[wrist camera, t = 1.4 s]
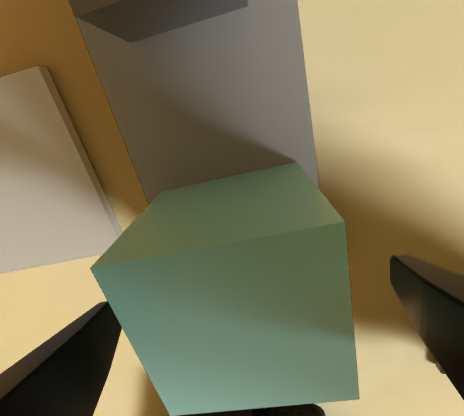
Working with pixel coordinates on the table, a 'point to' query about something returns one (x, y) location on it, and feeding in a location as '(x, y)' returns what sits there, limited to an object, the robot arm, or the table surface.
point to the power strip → (202, 86)
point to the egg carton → (271, 411)
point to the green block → (237, 294)
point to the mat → (46, 180)
